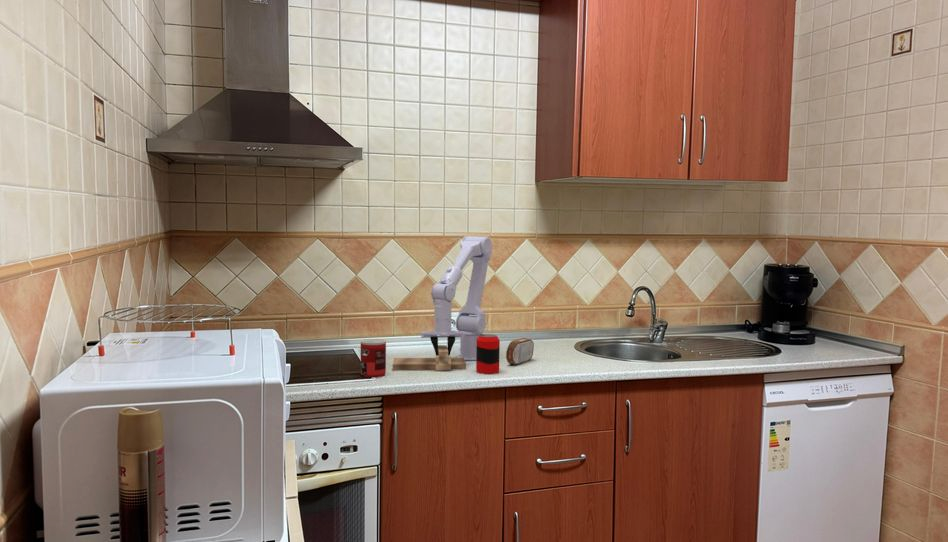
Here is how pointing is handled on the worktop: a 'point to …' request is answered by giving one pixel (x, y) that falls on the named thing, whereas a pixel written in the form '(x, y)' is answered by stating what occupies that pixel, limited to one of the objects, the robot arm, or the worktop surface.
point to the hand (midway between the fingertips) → (442, 358)
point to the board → (424, 363)
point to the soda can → (487, 354)
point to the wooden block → (443, 358)
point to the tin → (519, 351)
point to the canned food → (373, 357)
